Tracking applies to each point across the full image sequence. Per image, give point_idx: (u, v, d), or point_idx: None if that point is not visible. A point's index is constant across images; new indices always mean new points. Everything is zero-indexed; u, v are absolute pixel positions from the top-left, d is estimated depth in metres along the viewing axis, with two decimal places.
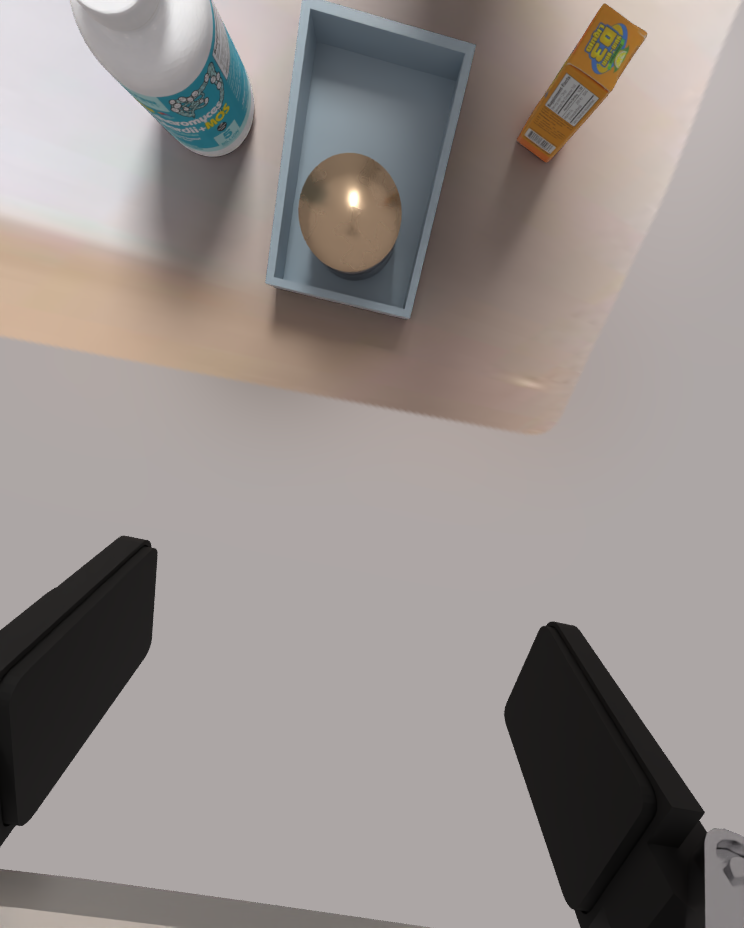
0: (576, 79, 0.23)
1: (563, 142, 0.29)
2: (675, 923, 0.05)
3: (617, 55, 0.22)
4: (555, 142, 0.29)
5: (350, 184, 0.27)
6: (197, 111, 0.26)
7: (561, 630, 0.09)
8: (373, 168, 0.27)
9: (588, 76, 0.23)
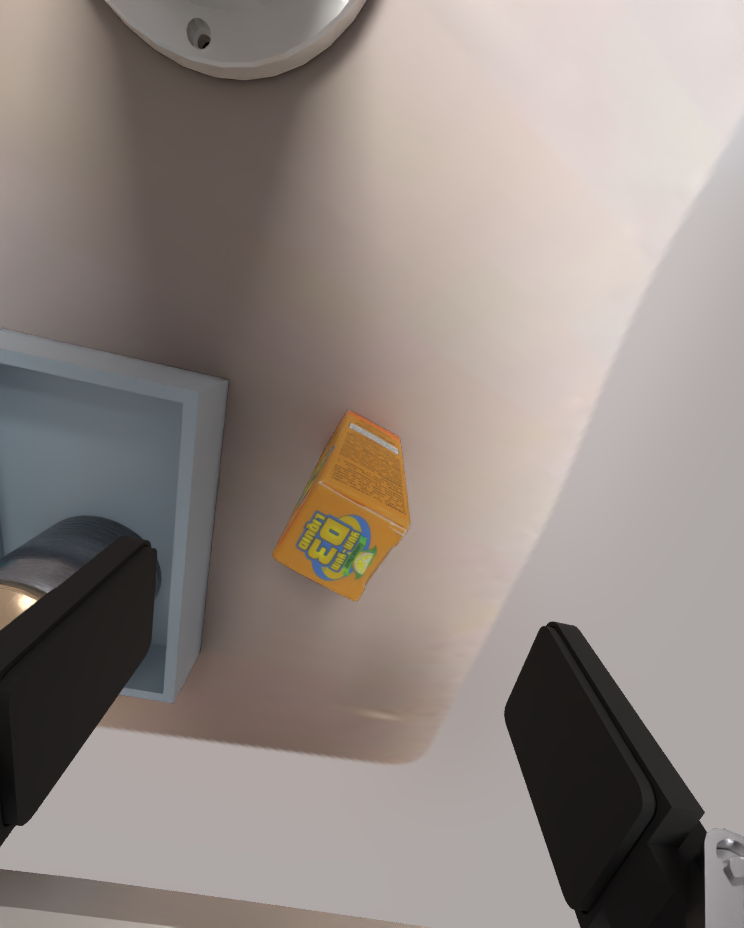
0: None
1: None
2: (675, 923, 0.05)
3: (357, 558, 0.12)
4: None
5: None
6: None
7: (561, 630, 0.09)
8: (25, 604, 0.16)
9: (313, 577, 0.12)
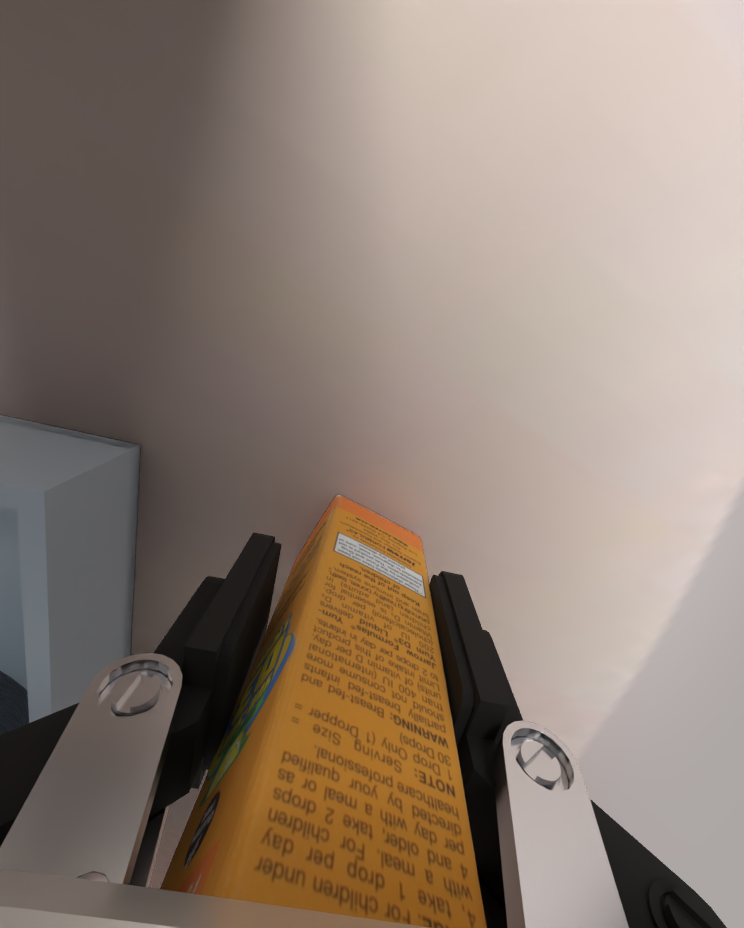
0: None
1: None
2: (476, 794, 0.06)
3: None
4: None
5: None
6: None
7: (445, 577, 0.10)
8: None
9: None
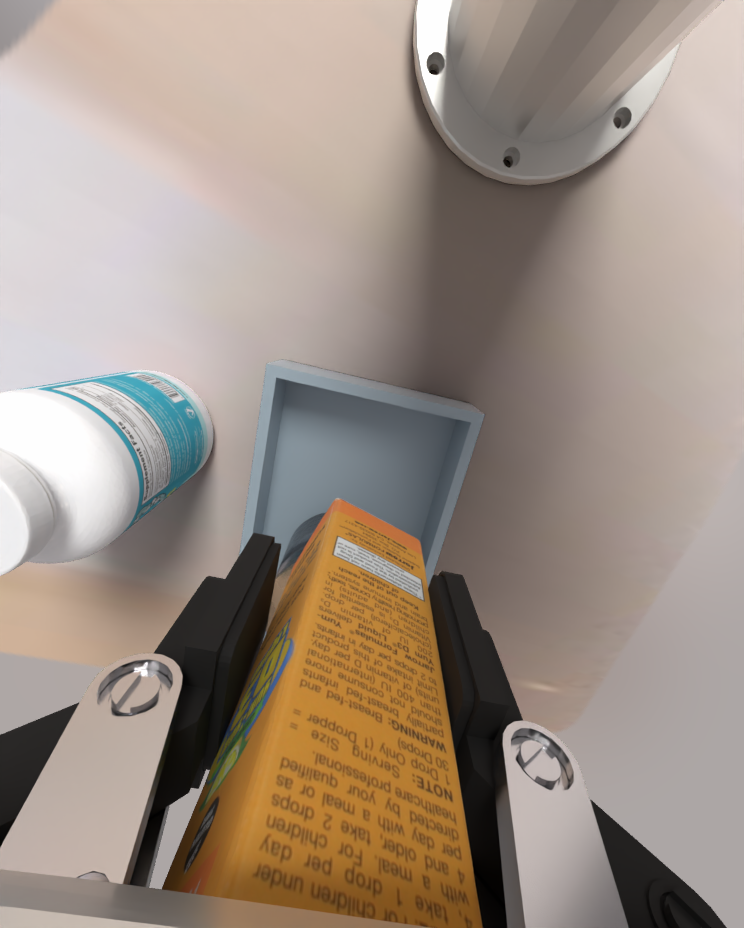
0: None
1: None
2: (476, 794, 0.06)
3: None
4: None
5: None
6: None
7: (445, 577, 0.10)
8: None
9: None
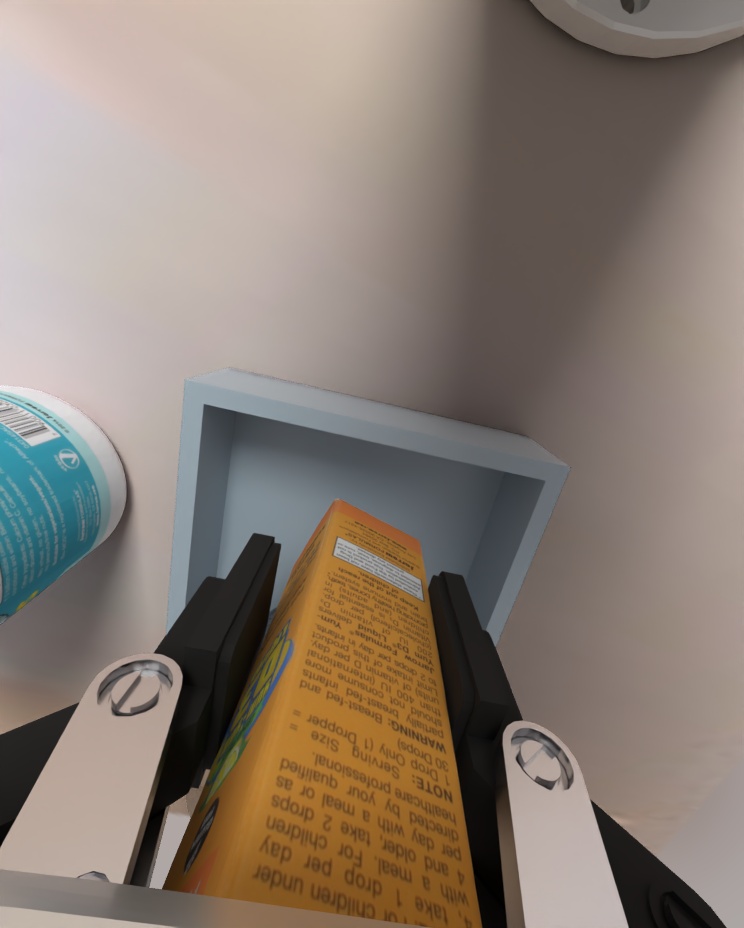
0: None
1: None
2: (476, 794, 0.06)
3: None
4: None
5: None
6: None
7: (445, 577, 0.10)
8: None
9: None
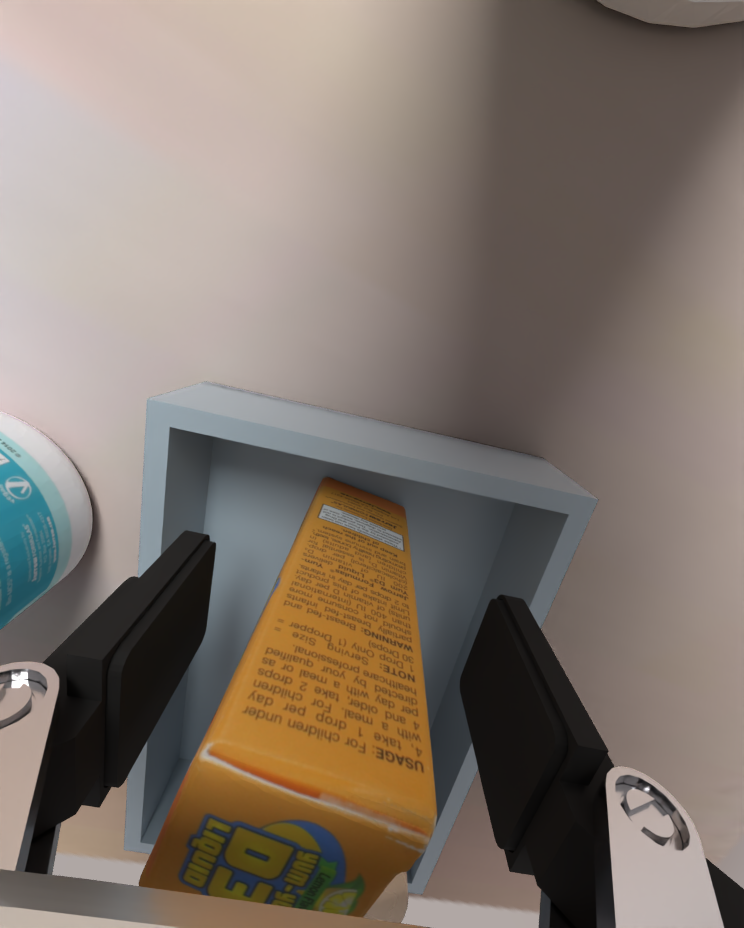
0: None
1: None
2: (577, 848, 0.06)
3: (321, 899, 0.05)
4: None
5: None
6: None
7: (507, 601, 0.09)
8: None
9: None
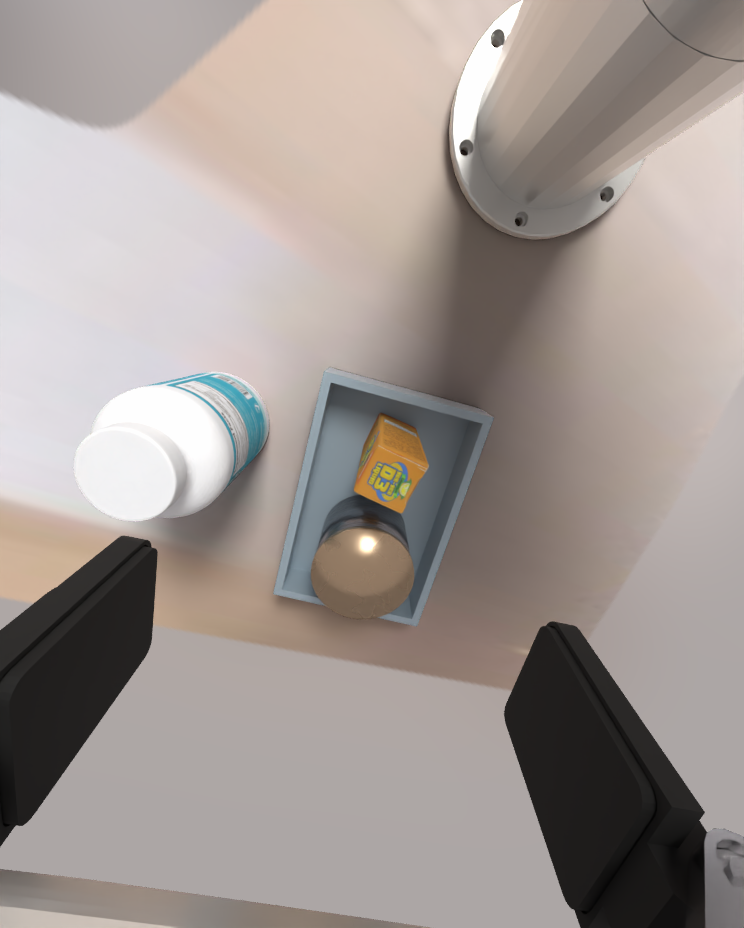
0: None
1: None
2: (675, 923, 0.05)
3: (401, 486, 0.22)
4: None
5: (364, 553, 0.27)
6: None
7: (561, 630, 0.09)
8: (388, 542, 0.27)
9: (377, 501, 0.22)
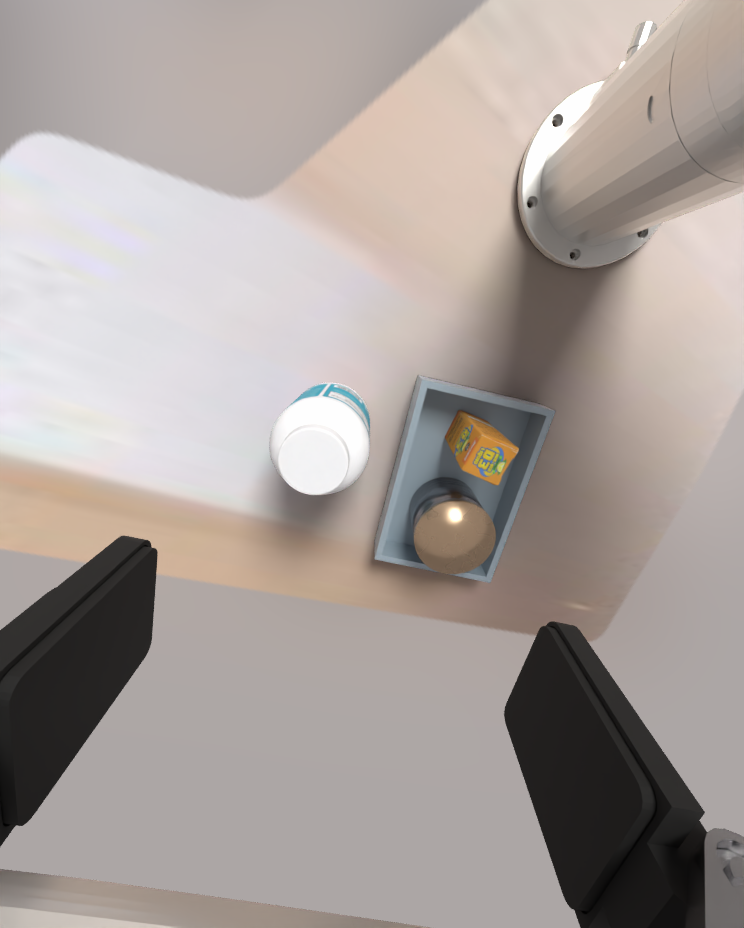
0: None
1: None
2: (675, 923, 0.05)
3: (498, 465, 0.29)
4: None
5: (456, 520, 0.35)
6: None
7: (561, 630, 0.09)
8: (475, 511, 0.34)
9: (479, 477, 0.30)
